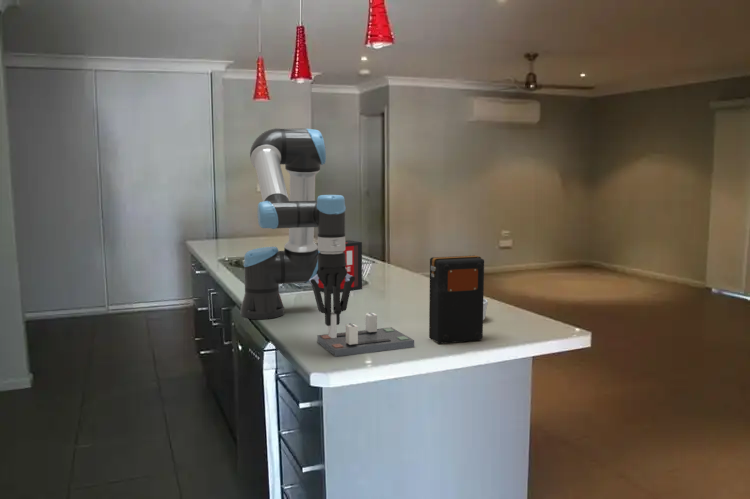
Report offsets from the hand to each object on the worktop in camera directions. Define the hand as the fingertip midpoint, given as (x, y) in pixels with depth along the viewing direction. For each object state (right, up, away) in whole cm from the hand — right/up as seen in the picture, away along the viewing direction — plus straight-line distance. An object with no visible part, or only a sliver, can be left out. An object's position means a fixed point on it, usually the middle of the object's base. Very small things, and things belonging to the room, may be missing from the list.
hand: (332, 336), depth 175 cm
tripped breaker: (+5, -2, +3) cm, 6 cm away
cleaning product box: (-3, +7, +91) cm, 91 cm away
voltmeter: (+36, -3, +15) cm, 39 cm away
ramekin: (+43, 0, +39) cm, 58 cm away
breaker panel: (+9, -4, +10) cm, 14 cm away
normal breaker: (+11, 0, +16) cm, 19 cm away
